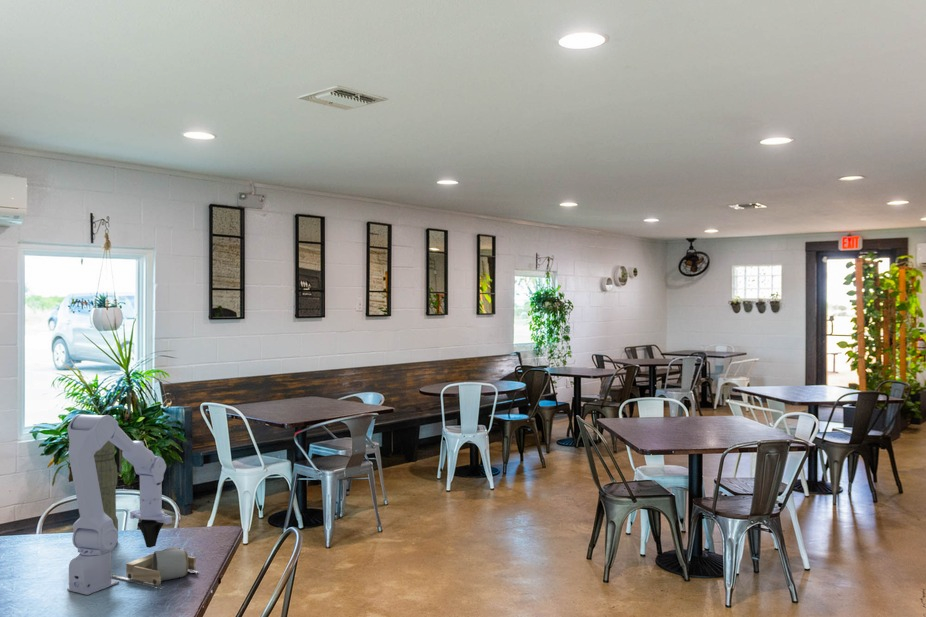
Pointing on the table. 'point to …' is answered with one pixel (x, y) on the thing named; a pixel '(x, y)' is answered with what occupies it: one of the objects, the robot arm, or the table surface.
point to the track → (138, 581)
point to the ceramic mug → (170, 563)
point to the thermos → (108, 477)
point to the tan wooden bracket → (150, 569)
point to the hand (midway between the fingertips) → (151, 546)
